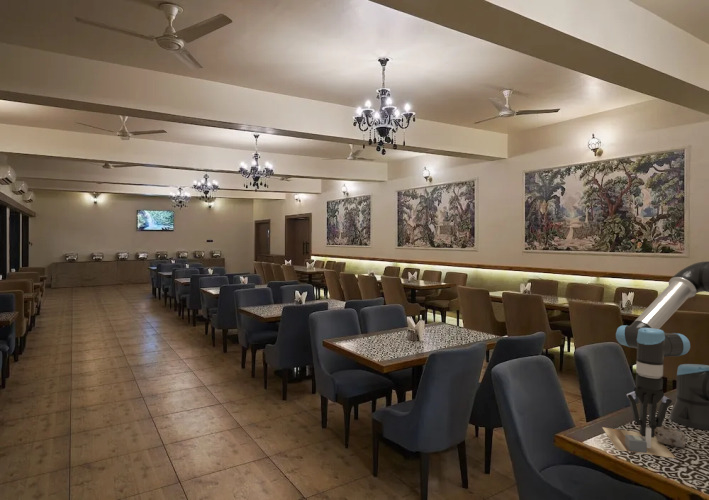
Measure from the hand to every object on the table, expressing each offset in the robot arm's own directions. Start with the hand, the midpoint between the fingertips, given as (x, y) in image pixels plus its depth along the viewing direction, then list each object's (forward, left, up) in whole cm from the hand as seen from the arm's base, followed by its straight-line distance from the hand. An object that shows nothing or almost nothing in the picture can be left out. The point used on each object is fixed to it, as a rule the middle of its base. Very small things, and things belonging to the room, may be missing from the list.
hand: (646, 446), depth 148 cm
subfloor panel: (+1, -7, -2) cm, 8 cm away
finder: (+3, 0, -2) cm, 4 cm away
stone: (-10, -12, -2) cm, 16 cm away
